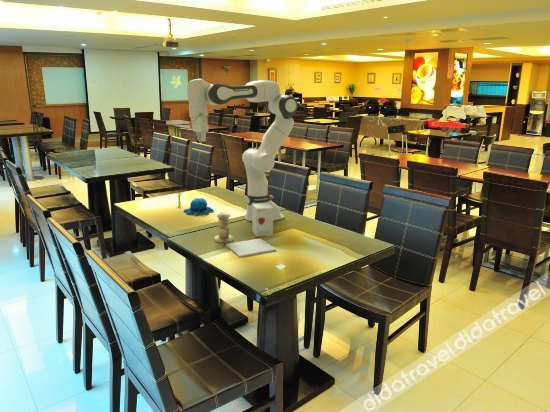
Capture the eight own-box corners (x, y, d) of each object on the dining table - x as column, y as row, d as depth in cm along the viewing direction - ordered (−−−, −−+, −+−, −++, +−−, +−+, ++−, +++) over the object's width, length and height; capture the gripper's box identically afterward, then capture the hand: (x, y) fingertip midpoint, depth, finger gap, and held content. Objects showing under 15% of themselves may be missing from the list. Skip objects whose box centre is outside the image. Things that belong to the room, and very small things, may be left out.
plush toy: (217, 214, 248) (216, 200, 246) (189, 217, 240) (188, 203, 238) (207, 207, 262) (207, 194, 260) (181, 210, 255) (180, 196, 252)
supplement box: (255, 237, 209) (256, 208, 205) (252, 231, 218) (252, 203, 214) (273, 235, 212) (273, 207, 208) (268, 230, 220) (269, 202, 216)
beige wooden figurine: (229, 235, 211) (228, 210, 208) (236, 241, 203) (235, 215, 200) (212, 238, 207) (211, 212, 204) (218, 244, 199) (217, 217, 196)
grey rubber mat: (260, 239, 206) (260, 238, 205) (275, 250, 192) (275, 249, 192) (226, 245, 198) (226, 243, 197) (239, 257, 184) (239, 255, 184)
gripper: (209, 111, 200) (212, 141, 203) (200, 112, 219) (203, 139, 222) (196, 112, 198) (200, 142, 201) (188, 113, 216) (191, 140, 219)
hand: (201, 140), depth 211 cm, fingers open, 8 cm apart
